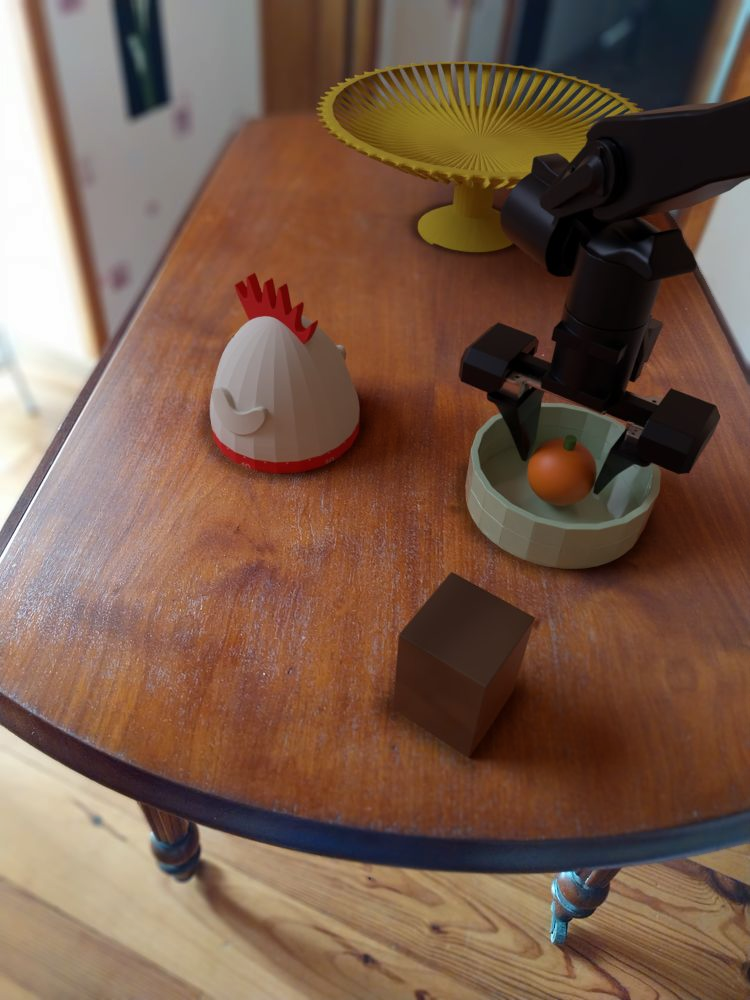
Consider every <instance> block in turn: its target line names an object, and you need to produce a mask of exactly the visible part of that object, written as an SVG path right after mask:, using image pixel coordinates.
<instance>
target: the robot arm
mask: <svg viewBox="0 0 750 1000" xmlns="http://www.w3.org/2000/svg"><path fill="white" fill-rule="evenodd" d="M596 121H597V122H596ZM596 121H594V122H595V123H594V122H593V123H594V124H593V125H592V126H591V128H590V129H589V130H588V132H587V134H586V138H587V142H586V144H585V146H584V147H583V148H582V149H581V151H580V152H579V153H578V154H577V155H576V156H575V158H574V159H573V160H572V161H571V162H570V163H569V161H568V160H567V159H566V158H565V157H563V156H561V155H560V154H558V153H554V154H548V155H542V156H536V157H534V158H533V163H532V169H531V173H529V174H528V175H526V176H525V177H524V178H523V179H521V180H520V181H519V182H518V183H517V184H516V186H515V187H513V188H511V191H510V192H509V194H508V195H507V198H506V200H505V202H504V203H503V204H502V206H501V209H500V212H501V214H500V223H501V228H502V231H503V233H504V234H505V236H506V237H507V238H508V239H509V240H510V241H512V242H513V244H514V245H515V246H516V247H518V248H519V249H520V250H521V251H522V252H523V253H525V254H526V255H527V256H528V257H530V258H531V260H533V261H534V262H536V263H537V264H538V265H539V266H541V267H542V268H543V269H544V270H545V271H547V272H548V274H550V275H552V276H555V277H557V278H567V277H570V280H569V284H568V288H567V292H566V297H565V301H564V305H563V310H562V312H561V313H562V314H561V319H560V321H559V322H558V323H557V324H556V325H555V326H554V327H553V330H552V335H551V339H550V341H552V342H555V344H554V348H553V353H552V357H551V362H550V361H547V360H545V359H543V358H540V357H537V356H535V355H536V354H537V353H538V349H539V343H540V340H539V339H538V337H537V336H536V335H533V334H530V333H529V332H525V331H522V330H520V329H518V328H515V327H512V326H509V325H507V324H504V323H502V322H496V323H495V324H493V325H492V326H489V328H487V329H486V330H485V331H484V332H483V333H482V334H480V336H478V337H477V338H476V339H475V340H474V341H472V342H471V343H470V344H469V345H468V346H467V347H466V348H465V349H464V350H463V353H462V355H461V357H460V362H459V370H458V377H459V380H460V382H461V383H464V384H466V385H468V386H471V387H473V388H476V389H478V390H480V391H483V392H485V393H486V400H487V401H488V402H490V403H492V404H494V405H495V407H496V408H497V410H498V412H499V413H500V414H501V416H502V417H503V419H504V421H505V423H506V425H507V427H508V428H509V431H510V433H511V435H512V438H513V440H514V443H515V445H516V448H517V450H518V453H519V455H520V457H521V460H522V461H525V462H526V461H527V460H528V459H529V458H530V456H531V455H532V451H533V448H534V445H535V441H536V435H537V429H538V422H539V415H540V409H541V403H543V402H542V401H543V398H544V395H545V393H547V394H550V395H552V396H555V397H556V398H559V399H560V400H564V401H566V402H568V403H571V404H572V405H575V406H579V407H583V408H586V409H588V410H590V411H593V412H595V413H598V414H600V415H607V416H608V415H609V416H610V417H612V418H613V417H614V418H616V419H617V420H618V419H619V420H621V421H623V422H625V423H626V425H625V426H626V427H625V430H624V432H623V433H622V434H621V436H620V437H619V438H618V440H617V441H616V442H615V444H614V445H613V446H612V448H611V449H610V451H609V453H608V455H607V458H606V460H605V462H604V464H603V466H602V469H601V471H600V473H599V475H598V477H597V479H596V482H595V484H594V490H593V493H594V494H597V495H598V494H599V493H600V492H601V491H602V490H603V489H604V488H605V487H606V486H607V485H608V483H609V482H610V481H611V480H612V479H613V478H614V477H615V476H617V475H618V474H619V473H621V472H623V471H624V470H626V469H627V468H629V467H630V466H632V465H634V464H635V465H638V466H640V467H648V466H650V465H651V463H653V464H655V465H658V467H659V468H660V467H661V468H663V469H665V470H667V471H670V472H672V473H674V474H677V475H686V474H690V473H691V471H692V470H693V468H694V467H695V465H696V463H697V461H698V460H699V458H700V456H701V455H702V453H703V451H704V450H705V448H706V447H707V446H708V443H709V442H710V440H711V439H712V437H713V435H714V433H715V431H716V428H717V426H718V424H719V422H720V420H721V413H720V411H719V409H718V406H717V405H716V404H714V403H711V402H709V401H706V400H703V399H701V398H698V397H694V396H692V395H690V394H688V393H685V392H682V391H680V390H678V389H674V388H672V387H671V388H670V389H669V390H668V391H667V392H666V394H665V395H664V396H663V398H662V397H658V396H656V395H648V396H642V395H639V394H637V393H634V392H631V391H629V390H627V388H628V386H629V383H631V382H632V383H636V381H637V380H638V379H639V377H640V376H641V375H642V371H643V368H644V365H645V363H648V362H649V360H650V357H651V355H652V352H653V350H654V348H655V345H656V344H657V340H658V339H659V336H660V334H661V332H662V329H663V326H664V323H663V322H662V321H660V320H658V319H657V318H654V317H652V316H653V315H652V313H653V312H652V311H653V309H654V305H655V303H656V299H657V296H658V293H659V290H660V287H661V284H662V281H663V280H664V279H668V278H674V277H677V276H681V275H685V274H690V273H694V272H695V271H696V270H697V268H698V263H697V260H696V258H695V256H694V255H695V254H694V253H693V251H692V250H691V248H690V247H689V246H688V245H687V243H686V242H685V239H684V236H683V230H682V229H681V228H680V227H675V228H671V229H666V230H661V229H659V227H656V226H655V225H653V224H652V223H651V222H649V221H647V220H646V219H644V218H643V217H647V216H652V215H657V214H662V213H668V212H672V211H676V210H682V209H687V208H691V207H694V206H696V205H699V204H701V203H704V202H706V201H709V200H710V199H714V198H715V197H718V196H720V195H723V194H725V193H727V192H730V191H731V190H733V189H735V188H736V187H737V186H739V185H741V183H743V182H745V181H748V180H750V95H748V96H744V97H742V98H737V99H735V100H732V101H721V102H719V101H718V102H707V103H693V104H692V103H691V104H684V105H676V106H671V107H664V108H657V109H650V110H643V111H642V112H636V113H629V114H625V113H623V114H617V115H615V116H609V117H605V116H604V117H601V118H600V119H598V120H596Z"/></svg>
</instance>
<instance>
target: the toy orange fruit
mask: <svg viewBox="0 0 750 1000" xmlns="http://www.w3.org/2000/svg"><path fill="white" fill-rule="evenodd" d="M527 476H528V481H529V484H530V486H531V488H532V490H533V491H534V493H535V494H536V495H537V496H538V497H539V498H540V499H542V500H543V501H545V502H547V503H549V504H552V505H556V506H567V505H572V504H575V503H577V502H579V501H581V500H582V499H584V498H585V497H586V496H587V495H588V494H589V493H590V491H591V490H592V488H593V486H594V484H595V481H596V477H597V467H596V462H595V459H594V457H593V455H592V454H591V452H590V451H589V450H588V449H587V448H586V447H585V446H584V445H582V444H581V443H579V442H577V438H576V437H575V436H573V435H567V436H566V438H560V439H554V440H550V441H548V442H546V443H544V444H542V445H541V446H540V447H539V448H538V449H537V450H536V451H535V452H534V453H533V455H532V456H531V458H530V461H529V464H528V469H527Z"/></svg>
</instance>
